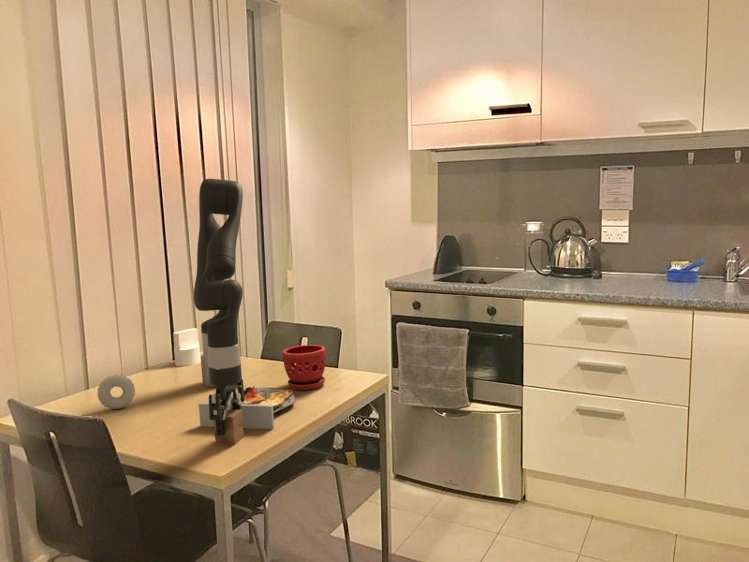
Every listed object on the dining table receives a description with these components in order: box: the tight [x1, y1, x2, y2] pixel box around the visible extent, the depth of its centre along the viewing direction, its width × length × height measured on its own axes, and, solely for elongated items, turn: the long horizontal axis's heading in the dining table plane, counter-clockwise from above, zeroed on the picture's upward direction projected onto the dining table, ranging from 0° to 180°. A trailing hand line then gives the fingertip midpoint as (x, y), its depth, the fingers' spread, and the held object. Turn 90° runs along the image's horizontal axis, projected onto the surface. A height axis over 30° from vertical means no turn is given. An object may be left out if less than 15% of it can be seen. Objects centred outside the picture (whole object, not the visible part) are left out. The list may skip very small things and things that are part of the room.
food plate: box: [207, 386, 297, 414], centre depth 169 cm, size 25×23×4 cm
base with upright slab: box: [172, 327, 201, 367], centre depth 220 cm, size 9×9×12 cm
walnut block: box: [213, 409, 245, 446], centre depth 145 cm, size 5×5×7 cm
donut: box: [97, 374, 136, 410], centre depth 171 cm, size 10×4×10 cm, turn 110°
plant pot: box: [282, 344, 326, 391], centre depth 187 cm, size 13×13×12 cm
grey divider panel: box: [198, 402, 275, 430], centre depth 154 cm, size 20×1×6 cm, turn 78°
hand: (229, 428), depth 145 cm, fingers open, 8 cm apart
